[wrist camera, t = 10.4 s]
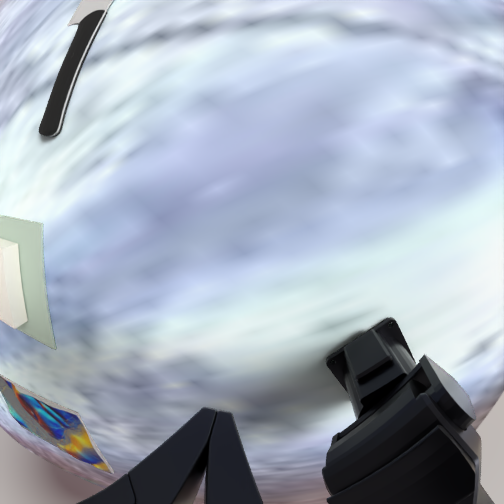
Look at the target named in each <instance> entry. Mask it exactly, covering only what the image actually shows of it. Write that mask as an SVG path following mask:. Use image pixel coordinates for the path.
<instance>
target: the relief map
mask: <svg viewBox="0 0 504 504" xmlns="http://www.w3.org/2000/svg"><path fill="white" fill-rule="evenodd" d="M0 391H1V393H2V395H3V397H4V399H5V401H6V403H7V405H8V408H9V411H10V413H11V415H12V416H13V418H14V419H15V420H16V421H17V422H18V423H19V424H20V425H21V426H22V427H23V428H25V429H27V430H28V431H30V432H31V433H33V434H34V435H36V436H38V437H40V438H42V439H43V440H45V441H47V442H49V443H50V444H52V445H54V446H56V447H58V448H59V449H61V450H62V451H64V452H66V453H68V454H70V455H72V456H73V457H75V458H77V459H78V460H81V461H83V462H86V463H89V464H92V465H93V466H95V467H96V468H99V469H101V470H103V471H106V472H108V473H111V474H113V473H114V471H113V469H112V468H111V466H110V465H109V463H108V462H107V460H106V459H105V457H104V456H103V454H102V453H101V451H100V450H99V448H98V447H97V445H96V443H95V442H94V440H93V438H92V437H91V435H90V433H89V432H88V430H87V428H86V426H85V425H84V423H83V421H82V419H81V417H80V415H79V413H78V412H75V411H73V410H70V409H68V408H65V407H63V406H61V405H58V404H56V403H54V402H51V401H49V400H47V399H45V398H43V397H41V396H39V395H37V394H35V393H33V392H31V391H29V390H27V389H25V388H23V387H21V386H20V385H18V384H16V383H14V382H12V381H11V380H9V379H7V378H6V377H4V376H2V375H1V374H0Z"/></svg>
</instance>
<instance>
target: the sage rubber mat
mask: <svg viewBox="0 0 504 504" xmlns="http://www.w3.org/2000/svg"><path fill="white" fill-rule="evenodd" d="M0 238H2V239H5V240H8V241H11V242H14V243H18V249H19V263H20V273H21V282H22V289H23V296H24V302H25V308H26V313H27V319H28V321H27V322H25V323H24V324H22V325H21V326H19V327H17V328H16V329H18V330H20V331H21V332H23V333H25V334H26V335H28V336H30V337H32V338H34V339H35V340H37V341H39V342H41V343H43V344H45V345H46V346H48V347H50V348H52V349H54V350H55V349H56V344H55V340H54V335H53V330H52V324H51V319H50V313H49V306H48V299H47V291H46V281H45V270H44V254H43V223H39V222H34V221H28V220H23V219H18V218H13V217H8V216H3V215H0Z"/></svg>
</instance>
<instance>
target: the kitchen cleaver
mask: <svg viewBox="0 0 504 504" xmlns="http://www.w3.org/2000/svg"><path fill="white" fill-rule="evenodd" d="M112 1H113V0H82V1H81V3H80V4H79V6H78V8H77V9H76V11H75V13H74V15H73V16H72V18H71V20H70V22H69V24H68V26H70V25H73V24H79V26H78V29H77V32H76V34H75V37H74V39H73V41H72V43H71V46H70V48H69V50H68V52H67V54H66V57H65V59H64V61H63V64H62V66H61V68H60V71H59V73H58V76H57V79H56V81H55V84H54V87H53V89H52V92H51V95H50V98H49V101H48V104H47V107H46V110H45V113H44V116H43V119H42V121H41V124H40V127H39V133H40V134H41V135H44V136H51V137H52V136H56V135H58V134H59V133H60V131H61V129H62V125H63V121H64V118H65V114H66V110H67V107H68V104H69V101H70V98H71V95H72V92H73V89H74V86H75V83H76V80H77V78H78V75H79V73H80V70H81V68H82V65H83V63H84V60H85V58H86V56H87V54H88V51H89V49H90V47H91V45H92V43H93V41H94V39H95V37H96V35H97V32H98V30H99V28H100V26H101V24H102V22H103V20H104V18H105V16H106V14H107V9H108V8H109V6H110V5H111V3H112Z"/></svg>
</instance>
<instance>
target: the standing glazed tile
mask: <svg viewBox="0 0 504 504" xmlns="http://www.w3.org/2000/svg"><path fill="white" fill-rule="evenodd" d="M0 320H1V321H3V322H4V323H6V324H8V325H9V326H11V327H12V328H14V329H16V328H17V327H19V326H21V325H22V324H24V323H25V322H27V321H28V319H27V313H26V308H25V302H24V296H23V289H22V282H21V273H20V263H19V249H18V243H14V242H11V241H8V240H5V239H2V238H0Z"/></svg>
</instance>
